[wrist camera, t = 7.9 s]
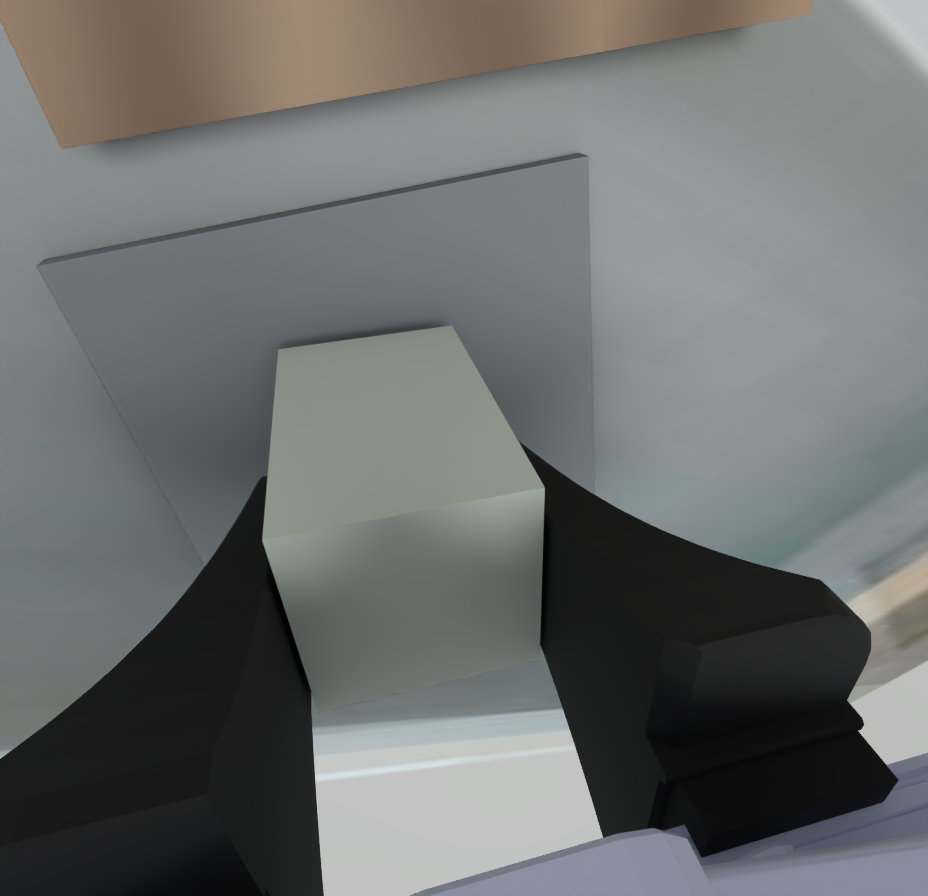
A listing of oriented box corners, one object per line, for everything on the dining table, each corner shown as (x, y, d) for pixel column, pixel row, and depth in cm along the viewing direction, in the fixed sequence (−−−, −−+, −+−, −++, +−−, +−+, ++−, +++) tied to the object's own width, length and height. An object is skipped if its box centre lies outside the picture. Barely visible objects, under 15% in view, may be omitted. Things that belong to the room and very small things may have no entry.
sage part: (313, 489, 15) (318, 712, 10) (278, 349, 13) (261, 540, 8) (461, 463, 16) (539, 660, 11) (452, 325, 14) (545, 487, 9)
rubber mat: (221, 581, 18) (219, 593, 18) (45, 259, 12) (36, 265, 12) (588, 484, 19) (594, 494, 19) (579, 153, 14) (588, 156, 13)
